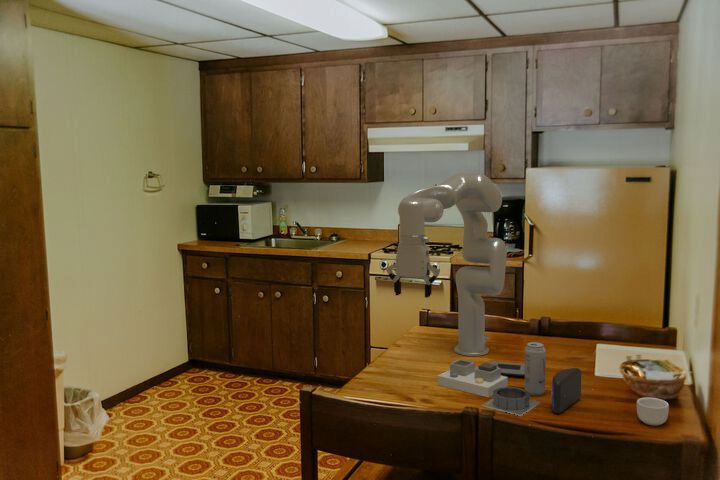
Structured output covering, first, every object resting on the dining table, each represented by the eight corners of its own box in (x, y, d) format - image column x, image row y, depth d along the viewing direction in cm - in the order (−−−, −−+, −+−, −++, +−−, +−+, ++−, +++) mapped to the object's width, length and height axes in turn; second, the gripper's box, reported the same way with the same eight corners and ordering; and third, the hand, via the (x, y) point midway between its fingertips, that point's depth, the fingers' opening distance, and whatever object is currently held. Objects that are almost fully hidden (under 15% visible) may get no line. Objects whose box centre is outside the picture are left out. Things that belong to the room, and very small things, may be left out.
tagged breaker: (485, 370, 199) (485, 362, 199) (496, 372, 196) (496, 365, 196) (478, 373, 196) (478, 365, 196) (490, 376, 193) (490, 368, 193)
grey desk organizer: (458, 374, 209) (458, 357, 208) (507, 386, 197) (507, 367, 196) (437, 384, 200) (437, 366, 199) (488, 397, 188) (488, 378, 188)
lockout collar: (502, 394, 191) (502, 383, 190) (540, 403, 183) (540, 391, 182) (482, 406, 182) (482, 394, 181) (520, 416, 174) (520, 404, 173)
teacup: (658, 430, 163) (659, 410, 162) (630, 421, 169) (631, 402, 169) (677, 420, 169) (678, 401, 168) (649, 412, 175) (650, 393, 175)
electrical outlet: (530, 370, 213) (530, 363, 213) (527, 380, 203) (528, 373, 203) (490, 367, 217) (490, 360, 217) (486, 377, 207) (486, 370, 207)
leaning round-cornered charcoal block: (566, 395, 189) (567, 364, 188) (582, 398, 186) (582, 367, 185) (543, 412, 177) (544, 379, 176) (559, 416, 174) (560, 382, 173)
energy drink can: (544, 397, 187) (545, 348, 186) (523, 395, 190) (523, 346, 188) (545, 390, 193) (546, 342, 191) (525, 388, 195) (526, 340, 193)
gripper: (443, 240, 194) (443, 295, 196) (390, 238, 201) (391, 291, 203) (435, 243, 187) (435, 300, 189) (381, 241, 194) (382, 296, 197)
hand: (412, 295), depth 196 cm, fingers open, 9 cm apart
